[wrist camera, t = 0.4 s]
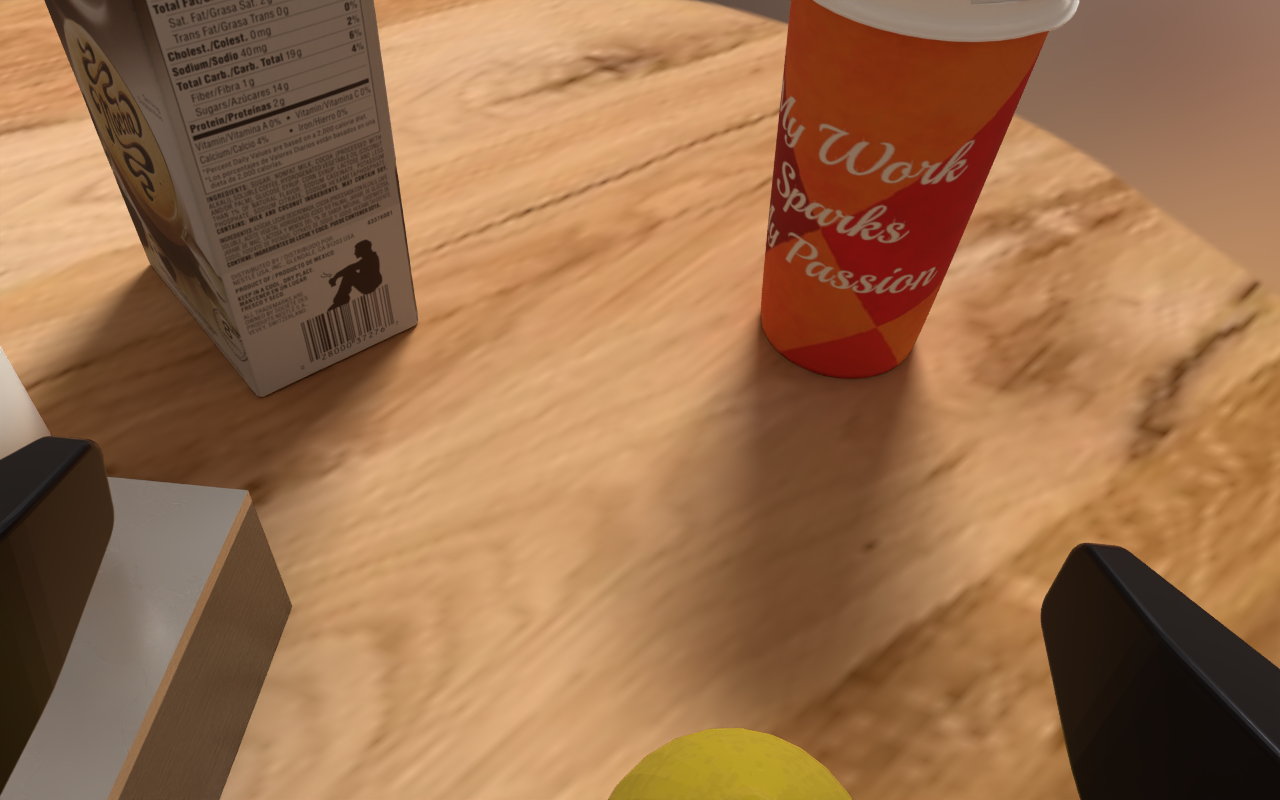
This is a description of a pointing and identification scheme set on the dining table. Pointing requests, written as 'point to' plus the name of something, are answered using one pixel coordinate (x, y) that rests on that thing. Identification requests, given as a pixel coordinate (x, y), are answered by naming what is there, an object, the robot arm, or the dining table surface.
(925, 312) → the paper cup
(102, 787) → the console
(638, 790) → the lemon
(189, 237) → the coffee box
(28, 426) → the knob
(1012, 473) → the dining table surface
